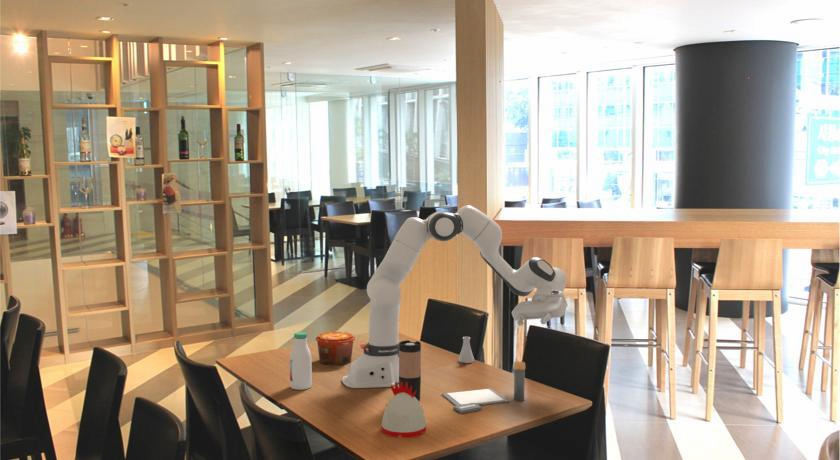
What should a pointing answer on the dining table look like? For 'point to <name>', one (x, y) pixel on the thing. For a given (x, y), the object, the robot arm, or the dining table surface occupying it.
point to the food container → (335, 347)
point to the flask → (466, 352)
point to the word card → (467, 408)
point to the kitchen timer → (403, 414)
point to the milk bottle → (300, 363)
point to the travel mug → (410, 366)
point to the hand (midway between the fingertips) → (531, 323)
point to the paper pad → (475, 397)
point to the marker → (519, 381)
